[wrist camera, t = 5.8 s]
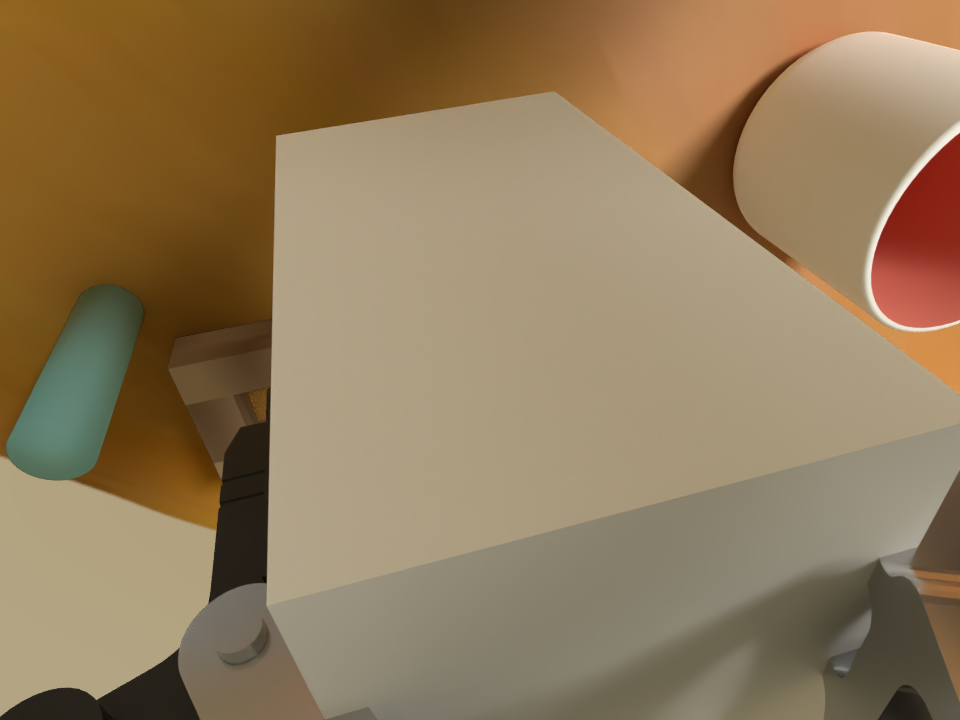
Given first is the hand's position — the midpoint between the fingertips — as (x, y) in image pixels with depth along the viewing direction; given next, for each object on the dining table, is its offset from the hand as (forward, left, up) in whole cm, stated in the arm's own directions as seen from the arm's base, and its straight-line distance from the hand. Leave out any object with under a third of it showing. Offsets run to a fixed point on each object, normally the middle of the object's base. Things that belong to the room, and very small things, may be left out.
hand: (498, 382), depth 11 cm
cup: (-21, +5, -19) cm, 29 cm away
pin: (+13, +7, -19) cm, 24 cm away
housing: (0, 0, -6) cm, 6 cm away
